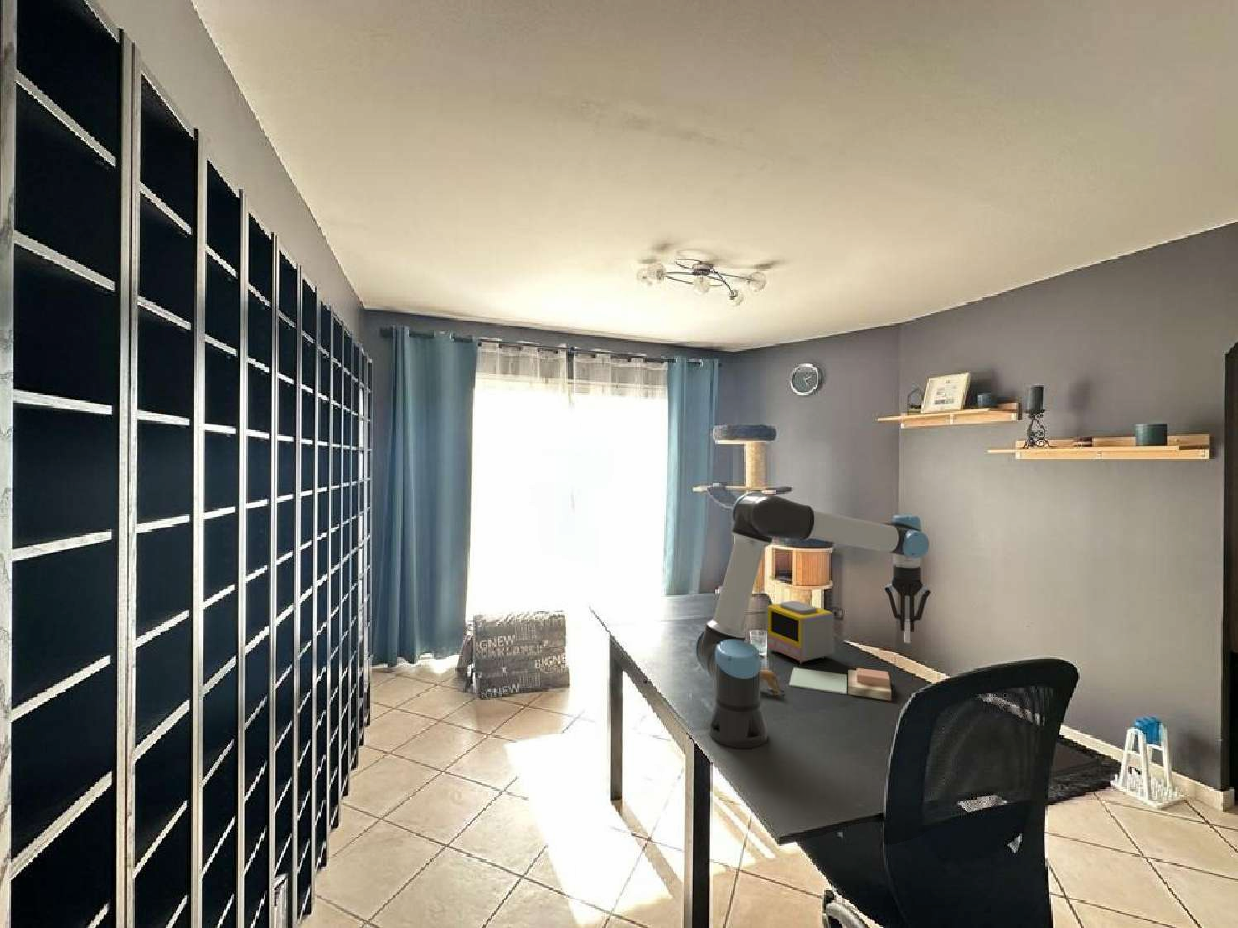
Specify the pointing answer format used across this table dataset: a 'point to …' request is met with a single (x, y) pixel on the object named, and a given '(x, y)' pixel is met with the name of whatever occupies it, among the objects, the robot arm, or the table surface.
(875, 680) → the block
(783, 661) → the table surface
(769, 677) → the lion figurine
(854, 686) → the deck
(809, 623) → the alarm clock
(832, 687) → the mat
